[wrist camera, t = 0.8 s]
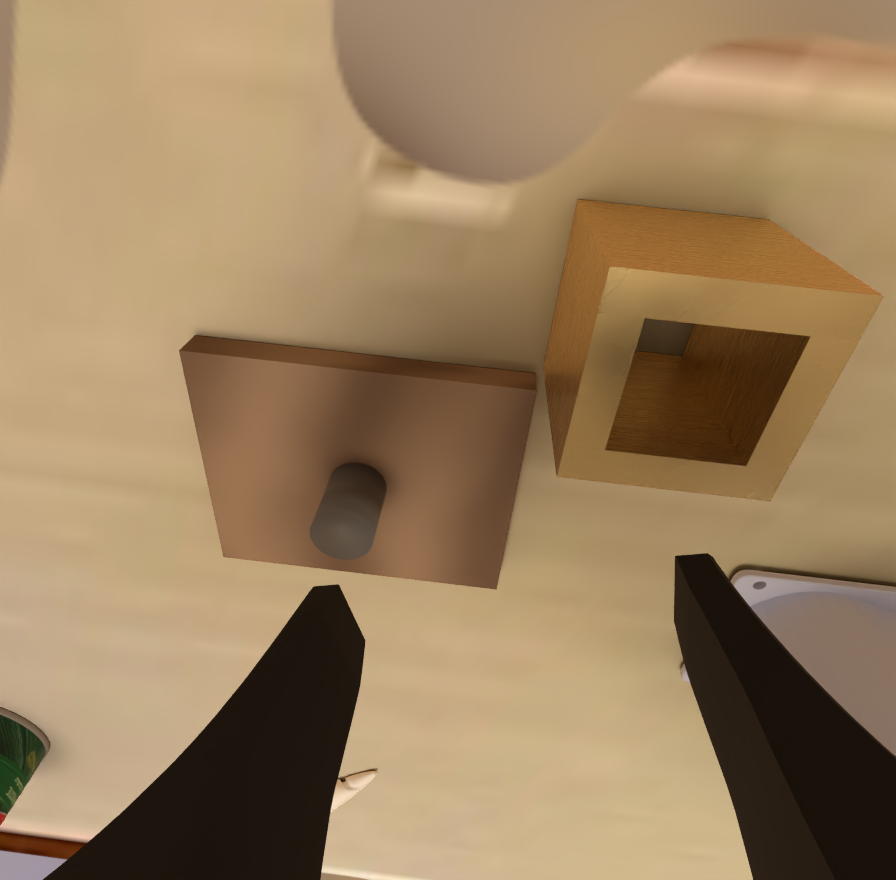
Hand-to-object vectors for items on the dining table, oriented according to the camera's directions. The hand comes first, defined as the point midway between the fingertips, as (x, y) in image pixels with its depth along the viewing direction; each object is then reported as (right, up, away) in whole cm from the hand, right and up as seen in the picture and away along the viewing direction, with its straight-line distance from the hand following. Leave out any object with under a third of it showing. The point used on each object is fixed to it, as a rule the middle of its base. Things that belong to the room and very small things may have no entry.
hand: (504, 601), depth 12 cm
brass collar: (+5, +8, +6) cm, 11 cm away
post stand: (-5, +2, +10) cm, 12 cm away
